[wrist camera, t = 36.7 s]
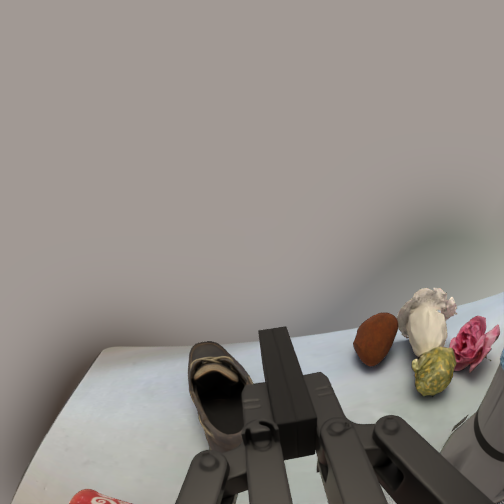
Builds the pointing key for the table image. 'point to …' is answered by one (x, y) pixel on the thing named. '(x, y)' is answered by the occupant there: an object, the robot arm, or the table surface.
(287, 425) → the robot arm
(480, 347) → the flower
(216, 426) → the boat shoe
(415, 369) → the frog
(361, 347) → the potato
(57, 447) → the table surface
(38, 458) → the table surface
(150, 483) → the table surface
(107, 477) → the table surface
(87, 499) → the mug
